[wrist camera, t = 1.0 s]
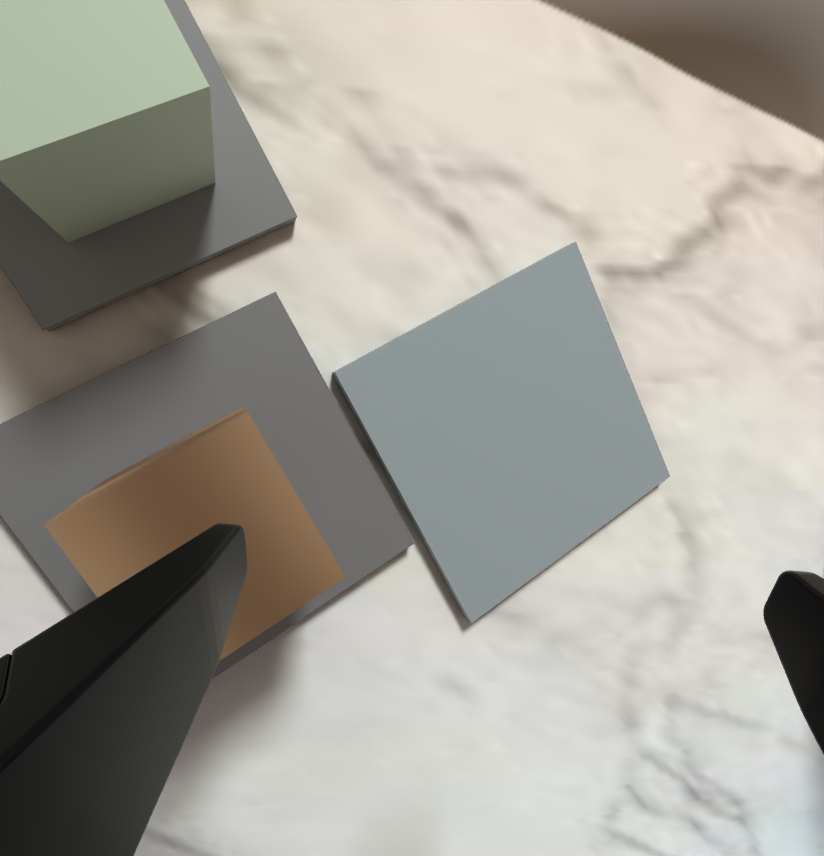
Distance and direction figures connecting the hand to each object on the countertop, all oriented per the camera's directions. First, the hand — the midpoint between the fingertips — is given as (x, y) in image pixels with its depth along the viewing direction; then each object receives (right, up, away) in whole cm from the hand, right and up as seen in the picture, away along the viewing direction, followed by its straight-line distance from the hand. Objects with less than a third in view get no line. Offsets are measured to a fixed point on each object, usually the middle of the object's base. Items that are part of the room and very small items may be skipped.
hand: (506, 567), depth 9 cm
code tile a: (-9, 0, +10) cm, 13 cm away
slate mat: (+3, +2, +14) cm, 15 cm away
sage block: (-11, +12, +8) cm, 18 cm away
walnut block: (-8, 0, +10) cm, 13 cm away
